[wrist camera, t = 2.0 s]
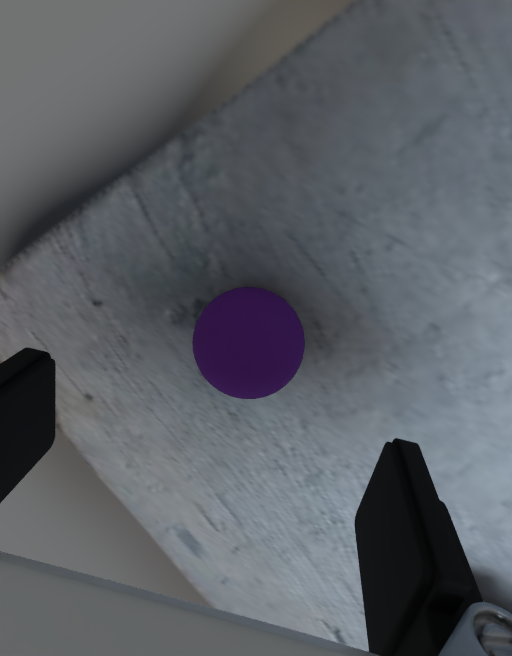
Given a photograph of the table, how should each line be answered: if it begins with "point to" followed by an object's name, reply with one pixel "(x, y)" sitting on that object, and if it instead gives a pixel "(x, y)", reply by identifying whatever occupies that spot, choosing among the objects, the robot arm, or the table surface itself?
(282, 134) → the table surface
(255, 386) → the ball
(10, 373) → the robot arm
